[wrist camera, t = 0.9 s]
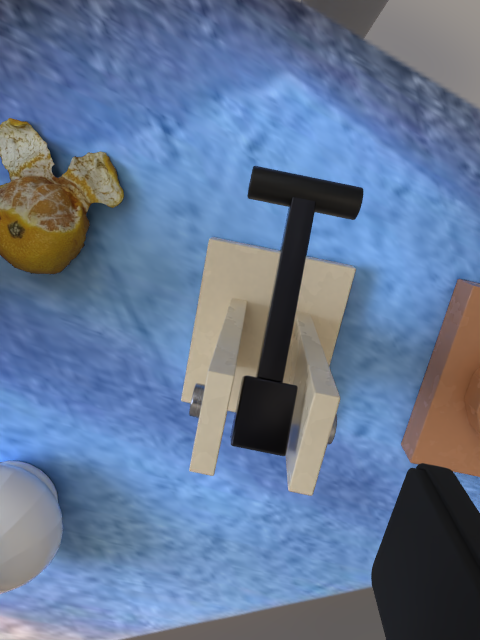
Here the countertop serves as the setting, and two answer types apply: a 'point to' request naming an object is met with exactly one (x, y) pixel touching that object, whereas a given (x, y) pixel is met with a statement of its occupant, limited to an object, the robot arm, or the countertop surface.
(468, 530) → the robot arm
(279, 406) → the black t-handle lever
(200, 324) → the lever bracket
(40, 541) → the flower vase
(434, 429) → the control block
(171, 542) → the countertop surface
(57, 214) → the fruit
